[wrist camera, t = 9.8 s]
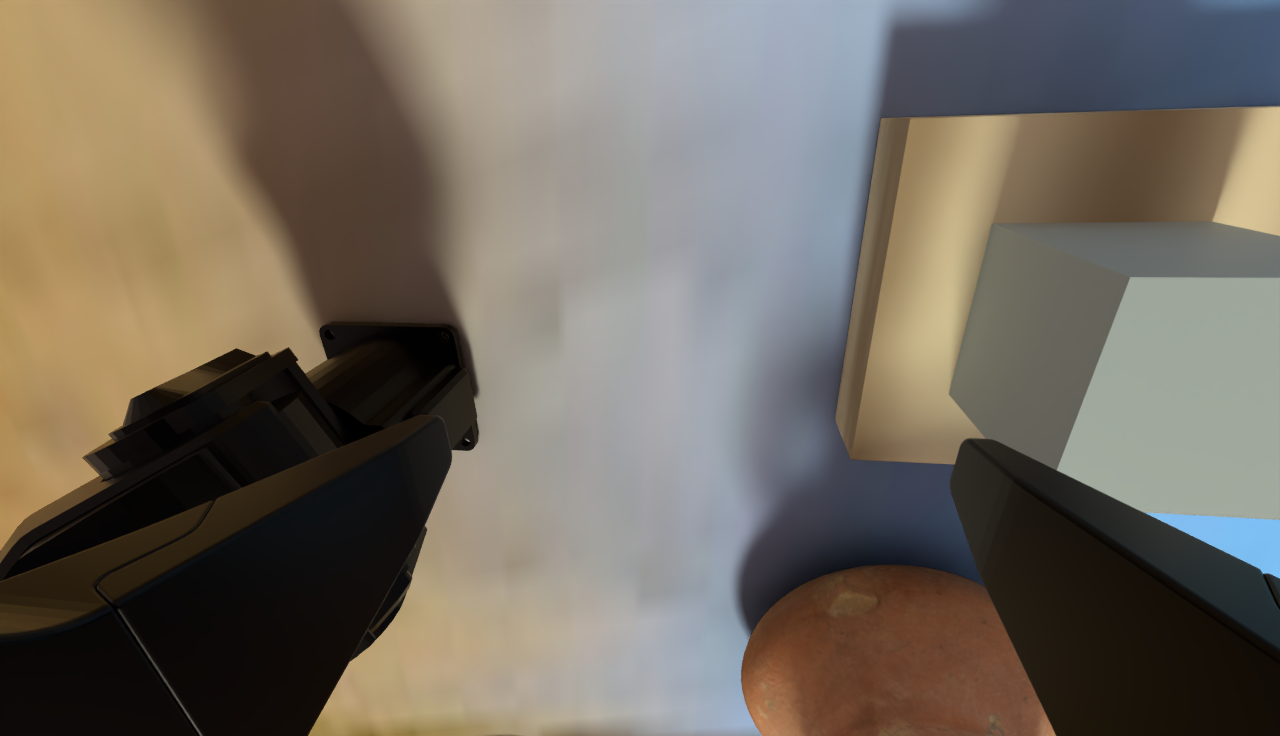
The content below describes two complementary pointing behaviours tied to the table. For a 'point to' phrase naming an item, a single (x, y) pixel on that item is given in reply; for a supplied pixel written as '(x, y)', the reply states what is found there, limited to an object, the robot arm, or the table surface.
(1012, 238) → the gray cube
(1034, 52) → the table surface
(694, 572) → the table surface
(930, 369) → the birch board
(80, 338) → the table surface
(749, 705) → the ceramic jug
